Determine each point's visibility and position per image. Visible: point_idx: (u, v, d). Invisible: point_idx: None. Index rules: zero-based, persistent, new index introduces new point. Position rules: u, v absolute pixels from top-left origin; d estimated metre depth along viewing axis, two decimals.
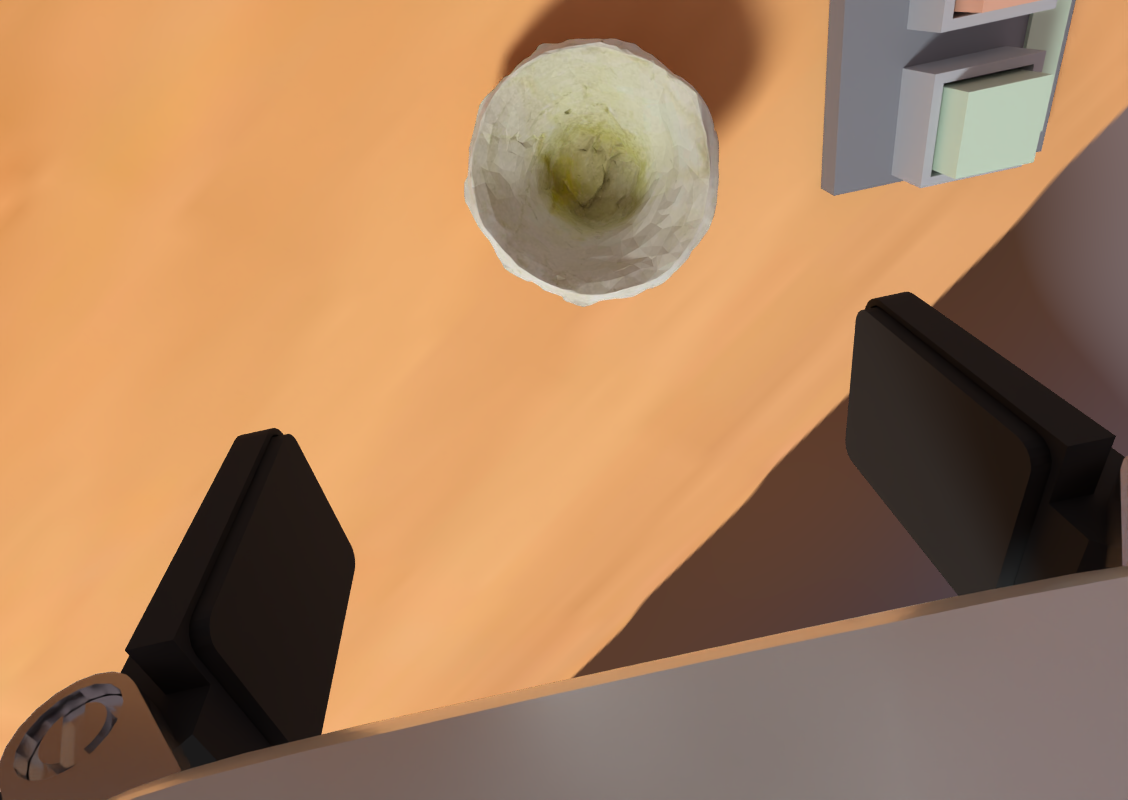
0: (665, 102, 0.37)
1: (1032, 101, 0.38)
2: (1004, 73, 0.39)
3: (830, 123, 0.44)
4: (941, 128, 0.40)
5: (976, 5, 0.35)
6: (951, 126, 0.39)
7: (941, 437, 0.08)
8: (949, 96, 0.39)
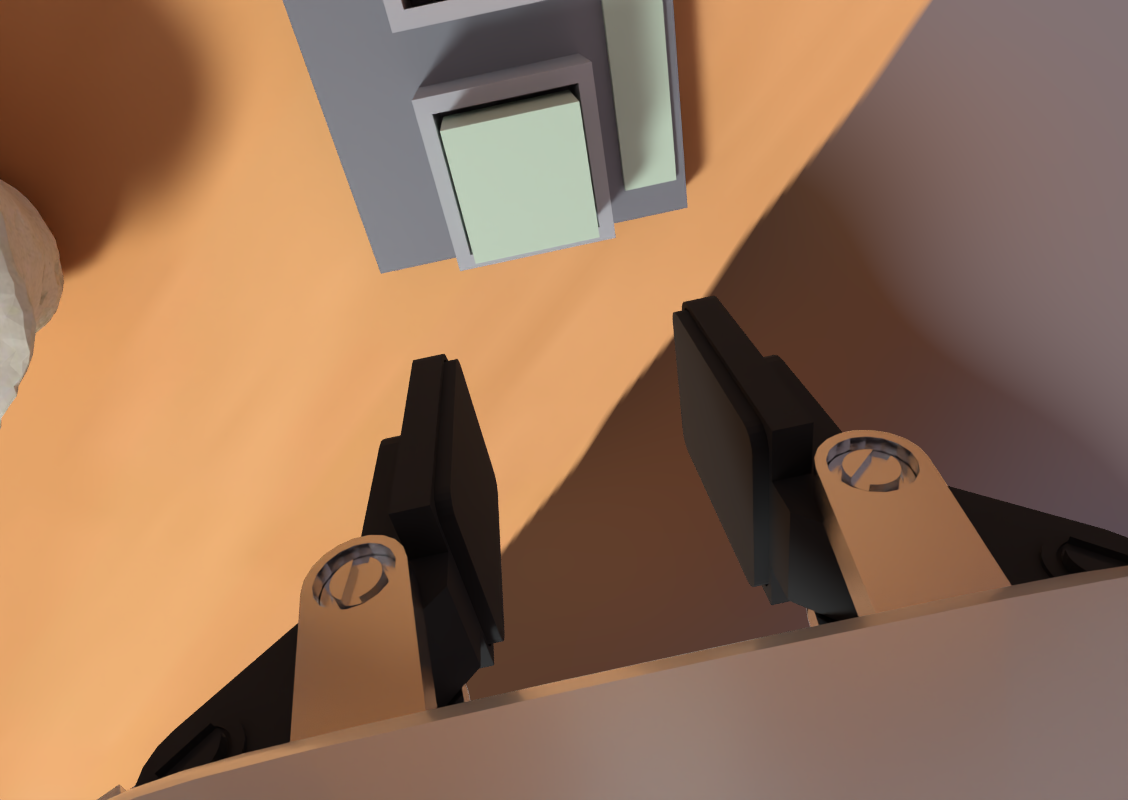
0: None
1: (560, 144, 0.23)
2: (540, 97, 0.25)
3: None
4: None
5: None
6: None
7: (717, 425, 0.09)
8: None
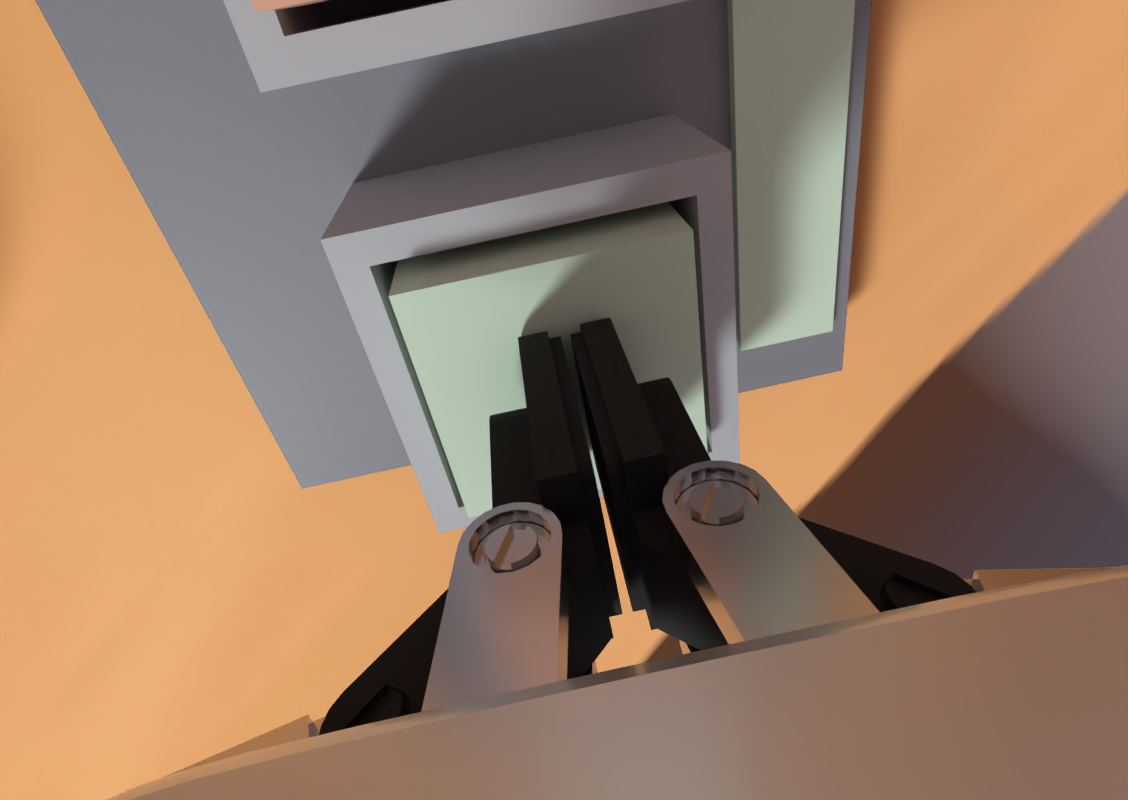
0: None
1: (646, 313, 0.11)
2: None
3: None
4: None
5: None
6: None
7: (598, 450, 0.09)
8: None
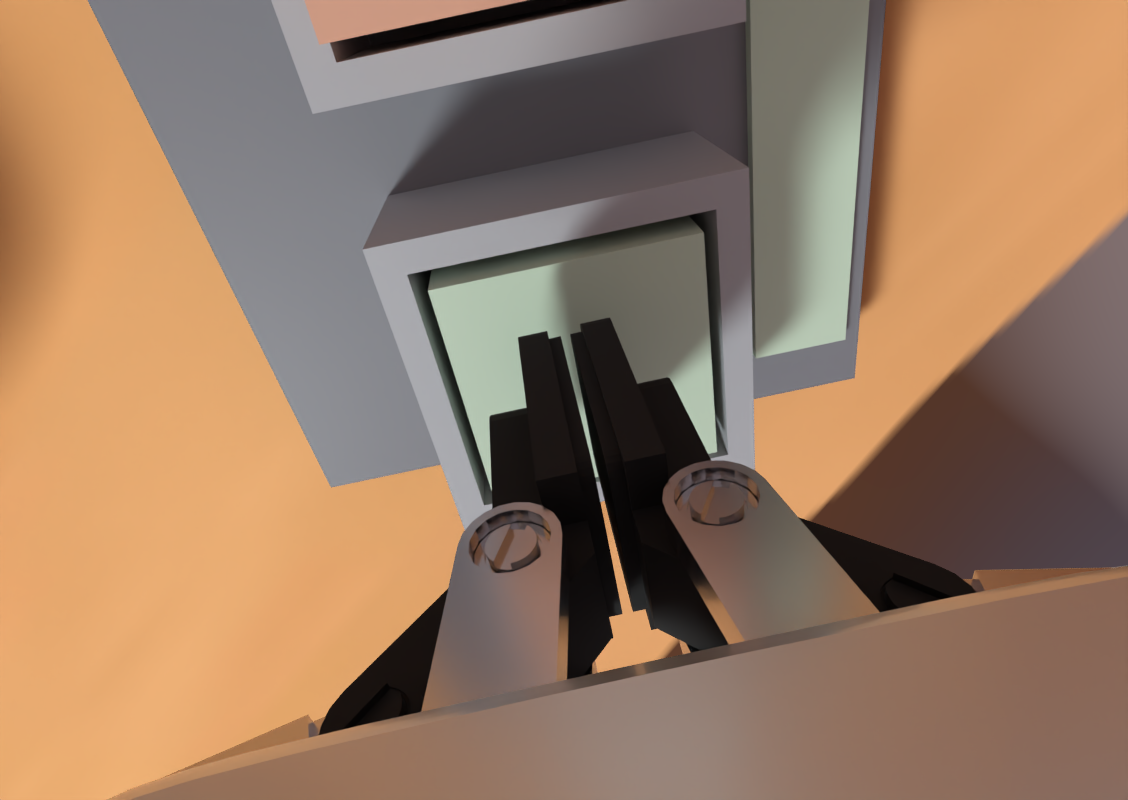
0: None
1: (660, 308, 0.12)
2: None
3: None
4: None
5: None
6: None
7: (598, 450, 0.09)
8: None
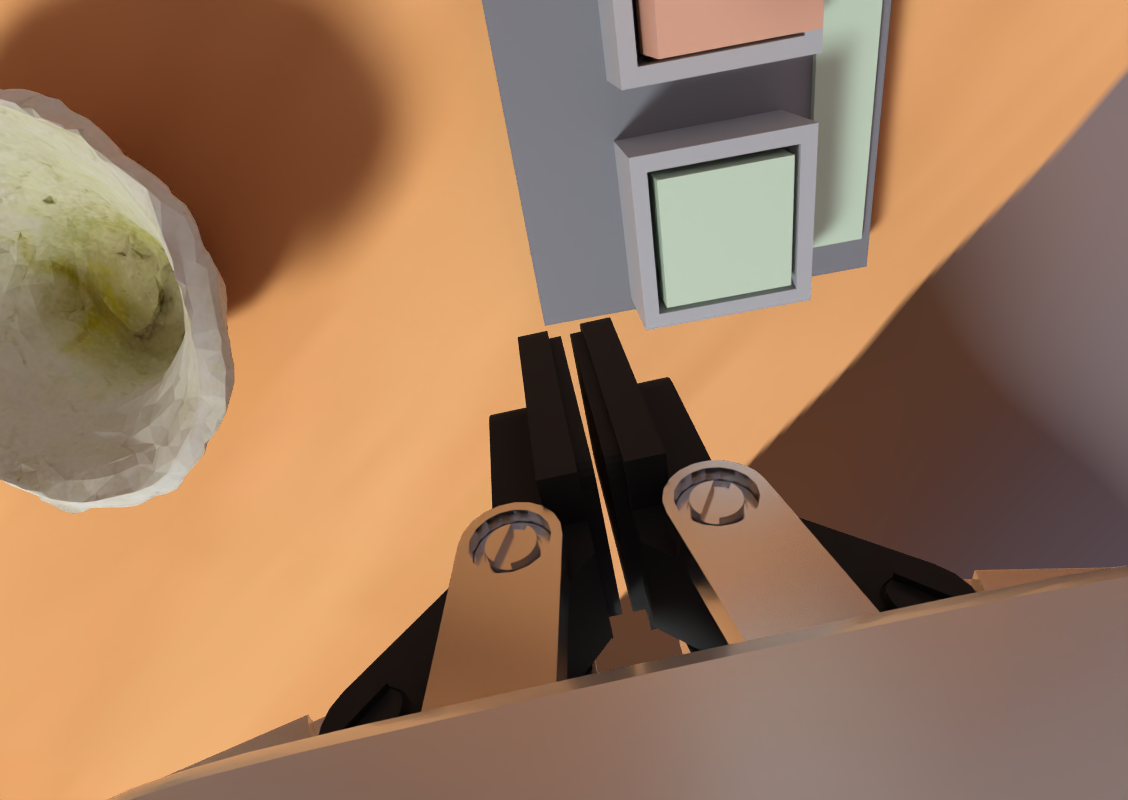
0: None
1: (769, 195, 0.24)
2: None
3: None
4: None
5: (653, 45, 0.20)
6: (655, 228, 0.25)
7: (598, 450, 0.09)
8: (648, 182, 0.25)
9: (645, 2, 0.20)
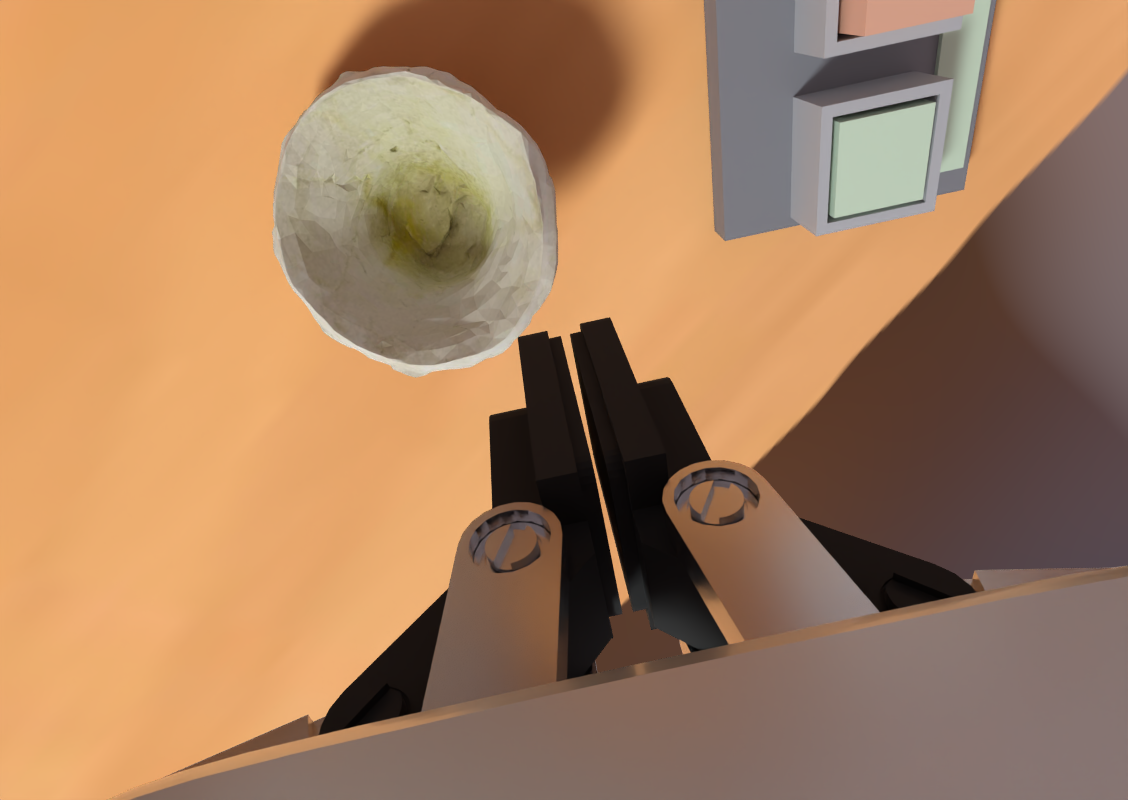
0: (492, 142, 0.31)
1: (915, 132, 0.33)
2: None
3: (716, 159, 0.38)
4: None
5: (859, 27, 0.29)
6: None
7: (598, 450, 0.09)
8: None
9: None
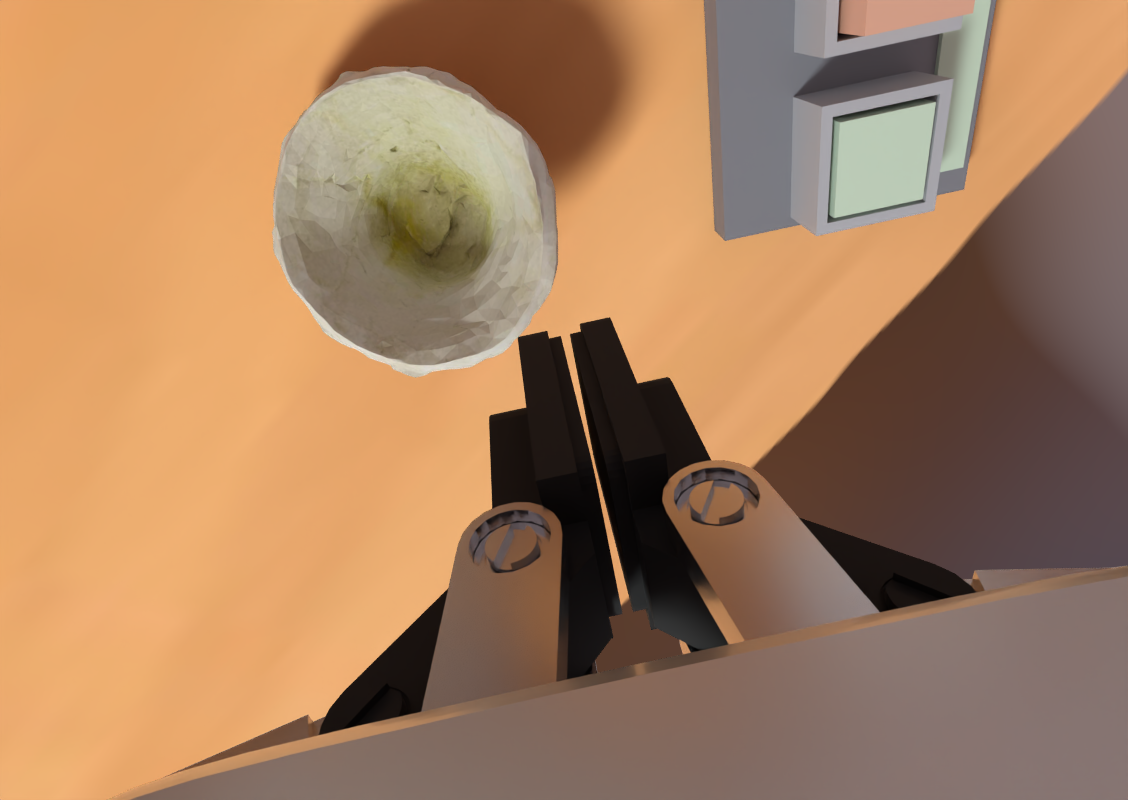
0: (492, 142, 0.31)
1: (915, 132, 0.33)
2: None
3: (716, 159, 0.38)
4: None
5: (859, 27, 0.29)
6: None
7: (598, 450, 0.09)
8: None
9: None
